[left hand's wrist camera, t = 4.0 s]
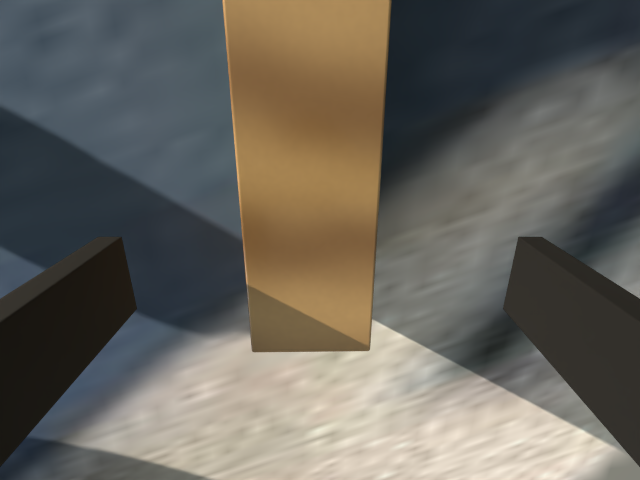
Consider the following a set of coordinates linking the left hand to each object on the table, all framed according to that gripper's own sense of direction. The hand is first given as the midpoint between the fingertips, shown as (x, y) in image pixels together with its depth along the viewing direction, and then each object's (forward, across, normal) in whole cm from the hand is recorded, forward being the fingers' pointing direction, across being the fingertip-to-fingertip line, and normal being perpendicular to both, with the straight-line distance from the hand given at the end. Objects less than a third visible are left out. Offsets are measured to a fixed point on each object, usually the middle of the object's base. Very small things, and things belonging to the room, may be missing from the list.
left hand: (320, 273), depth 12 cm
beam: (+9, 0, -23) cm, 25 cm away
